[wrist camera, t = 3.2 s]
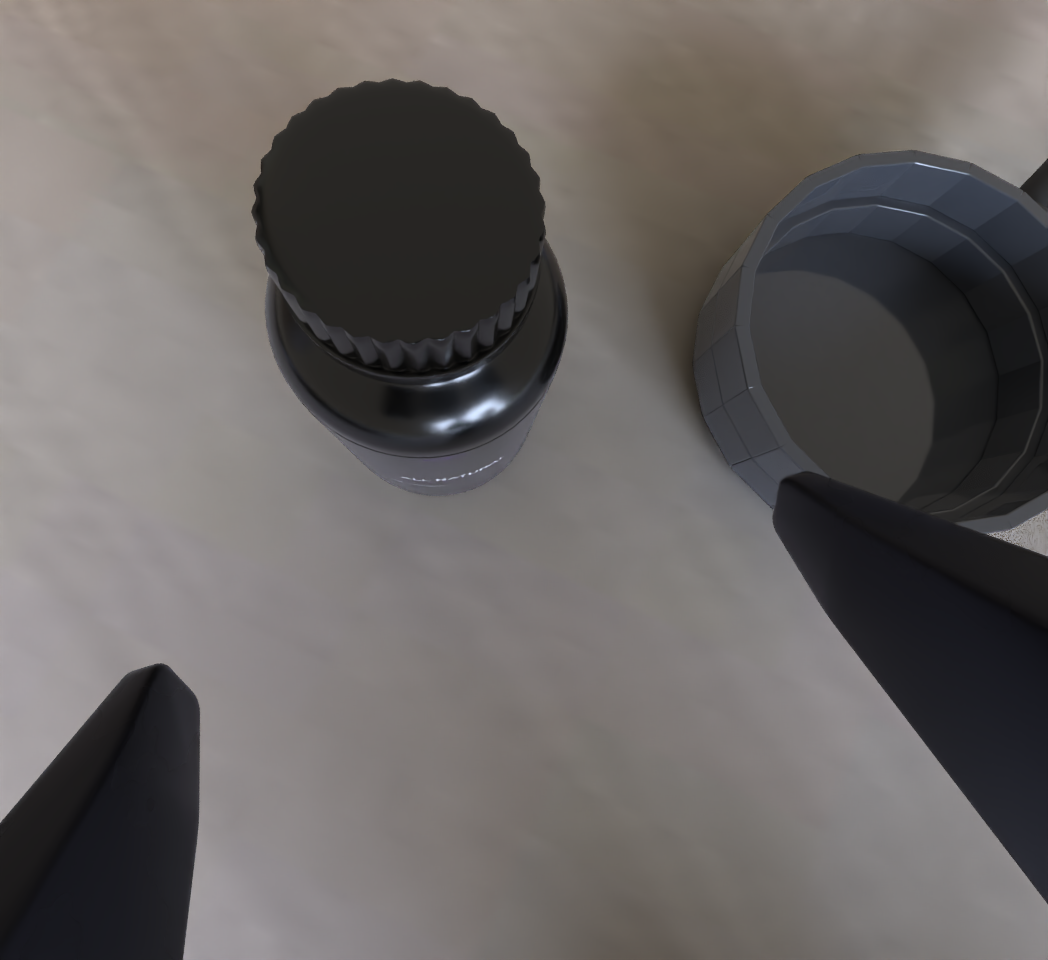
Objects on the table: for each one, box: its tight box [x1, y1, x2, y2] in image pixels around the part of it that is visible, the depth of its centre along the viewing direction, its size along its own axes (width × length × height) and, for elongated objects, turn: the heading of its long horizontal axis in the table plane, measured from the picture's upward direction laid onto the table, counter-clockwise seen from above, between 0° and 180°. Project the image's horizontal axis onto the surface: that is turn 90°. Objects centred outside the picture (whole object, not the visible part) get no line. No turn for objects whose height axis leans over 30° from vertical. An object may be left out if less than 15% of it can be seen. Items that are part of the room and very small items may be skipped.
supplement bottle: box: [251, 78, 568, 496], centre depth 15 cm, size 7×7×12 cm
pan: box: [693, 150, 1048, 534], centre depth 20 cm, size 13×13×4 cm
